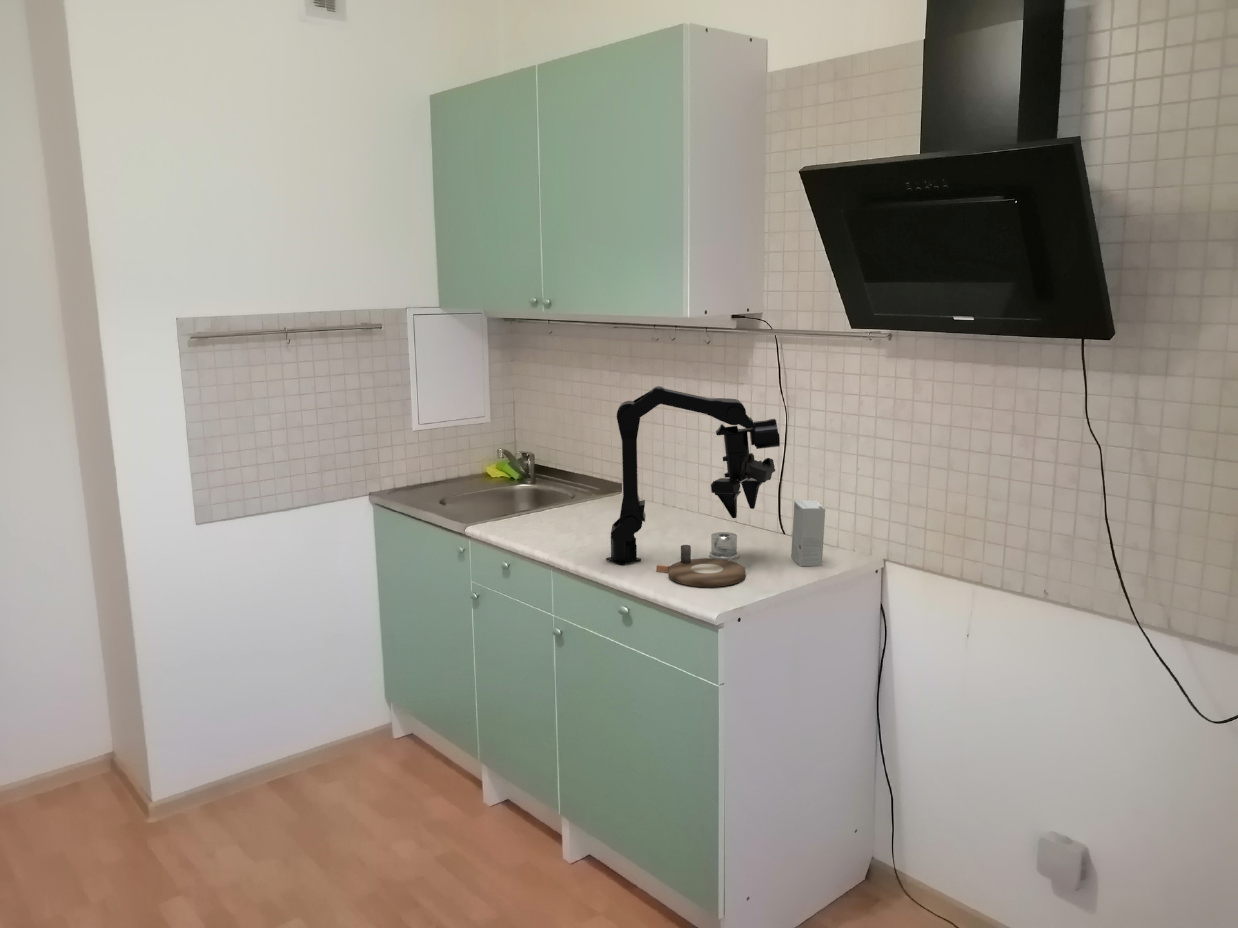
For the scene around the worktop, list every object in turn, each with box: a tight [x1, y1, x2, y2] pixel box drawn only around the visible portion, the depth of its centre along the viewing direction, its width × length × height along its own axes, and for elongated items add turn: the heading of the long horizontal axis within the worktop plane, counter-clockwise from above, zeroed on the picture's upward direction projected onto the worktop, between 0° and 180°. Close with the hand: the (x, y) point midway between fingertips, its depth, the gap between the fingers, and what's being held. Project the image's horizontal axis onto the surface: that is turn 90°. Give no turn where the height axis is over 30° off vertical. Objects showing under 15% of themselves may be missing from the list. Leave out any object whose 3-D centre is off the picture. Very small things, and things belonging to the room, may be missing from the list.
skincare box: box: [790, 499, 826, 567], centre depth 239 cm, size 8×6×15 cm
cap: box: [709, 531, 739, 561], centre depth 246 cm, size 7×7×6 cm
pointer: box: [655, 564, 671, 574], centre depth 234 cm, size 3×1×2 cm, turn 67°
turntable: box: [668, 544, 746, 588], centre depth 229 cm, size 18×18×6 cm
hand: (743, 513), depth 240 cm, fingers open, 9 cm apart
